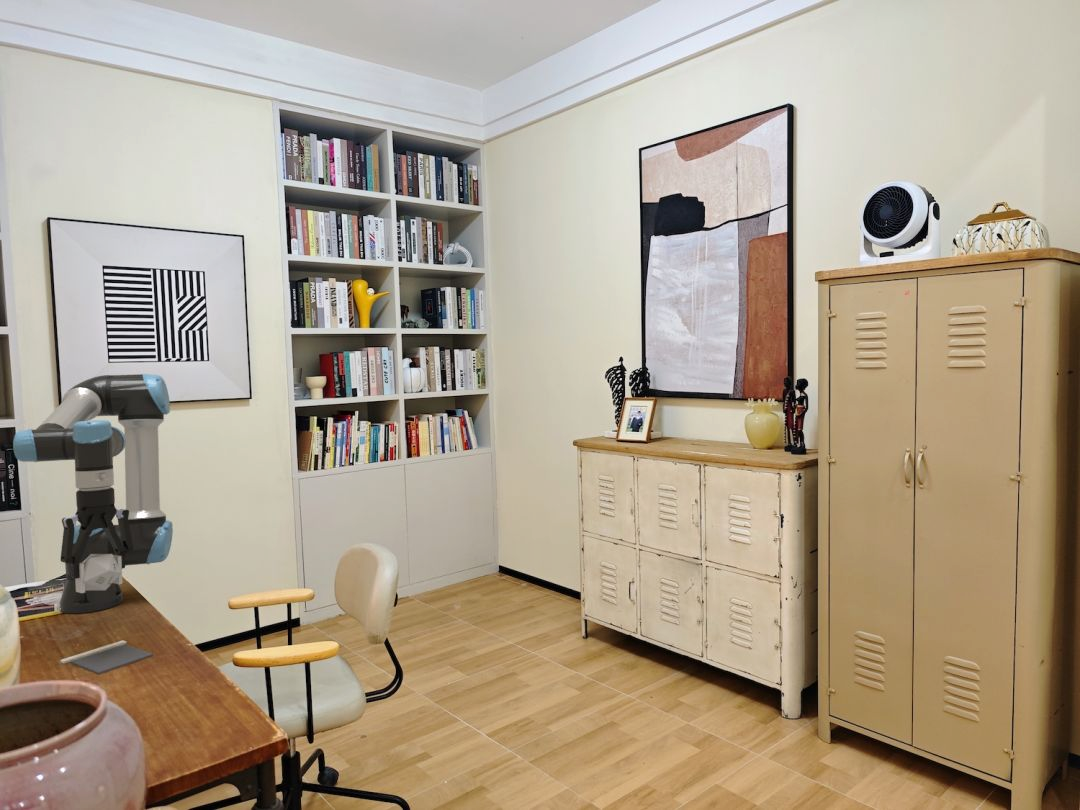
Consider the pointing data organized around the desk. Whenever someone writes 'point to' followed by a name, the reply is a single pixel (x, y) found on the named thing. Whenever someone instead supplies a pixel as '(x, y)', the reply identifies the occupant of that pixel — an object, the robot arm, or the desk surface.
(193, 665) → the desk surface
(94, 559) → the die
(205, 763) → the desk surface
